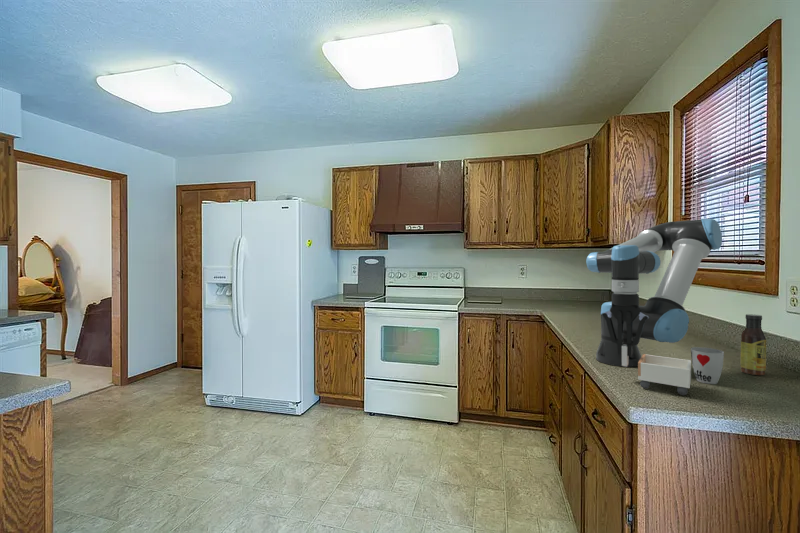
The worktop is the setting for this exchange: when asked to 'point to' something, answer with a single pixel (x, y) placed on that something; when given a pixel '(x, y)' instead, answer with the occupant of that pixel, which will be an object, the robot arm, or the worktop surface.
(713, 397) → the worktop surface
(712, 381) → the cup
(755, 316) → the sauce bottle
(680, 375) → the white open box
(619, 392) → the worktop surface
